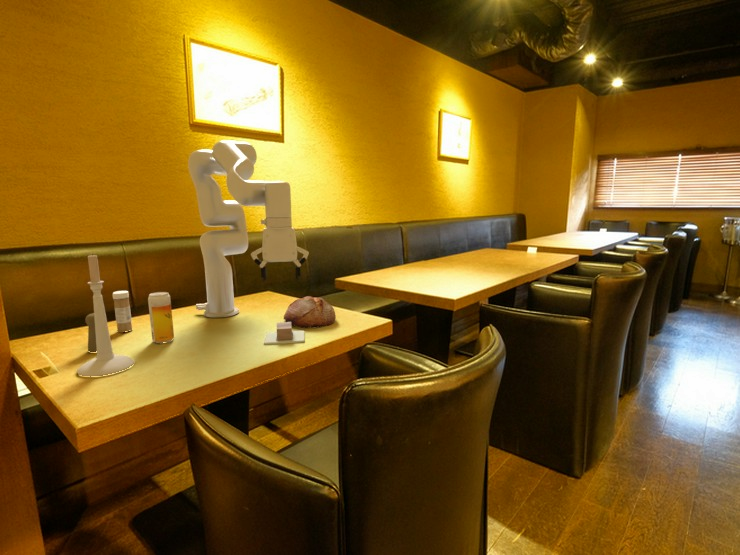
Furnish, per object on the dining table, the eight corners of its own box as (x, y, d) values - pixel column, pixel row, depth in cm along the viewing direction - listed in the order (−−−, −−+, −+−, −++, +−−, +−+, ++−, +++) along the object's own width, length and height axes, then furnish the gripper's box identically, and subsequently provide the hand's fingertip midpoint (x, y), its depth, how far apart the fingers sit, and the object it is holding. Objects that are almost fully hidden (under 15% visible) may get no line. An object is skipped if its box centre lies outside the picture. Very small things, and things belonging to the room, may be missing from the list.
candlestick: (71, 381, 103) (54, 258, 97) (83, 363, 115) (67, 252, 109) (132, 372, 108) (118, 255, 102) (136, 356, 120) (124, 249, 114)
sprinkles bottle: (126, 328, 145) (121, 289, 143) (136, 330, 143) (131, 290, 141) (113, 332, 141) (108, 292, 138) (123, 334, 139) (119, 293, 137)
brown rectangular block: (277, 333, 136) (276, 322, 136) (291, 332, 137) (291, 321, 137) (277, 340, 130) (276, 329, 129) (292, 339, 131) (291, 328, 130)
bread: (325, 334, 141) (324, 305, 139) (274, 328, 148) (271, 300, 145) (344, 318, 156) (343, 291, 154) (297, 313, 163) (295, 288, 160)
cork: (86, 355, 121) (81, 317, 119) (89, 348, 126) (84, 312, 124) (111, 351, 123) (106, 314, 121) (112, 345, 129) (108, 309, 127)
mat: (263, 344, 128) (263, 342, 128) (266, 334, 138) (266, 332, 137) (304, 342, 130) (304, 340, 129) (304, 332, 139) (304, 330, 139)
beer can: (177, 340, 132) (173, 293, 129) (157, 345, 128) (152, 297, 125) (169, 336, 136) (165, 290, 133) (149, 341, 132) (144, 293, 129)
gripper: (247, 224, 123) (250, 282, 126) (308, 224, 125) (309, 281, 129) (250, 223, 130) (253, 278, 133) (308, 222, 133) (309, 276, 136)
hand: (281, 279), depth 131 cm, fingers open, 9 cm apart
